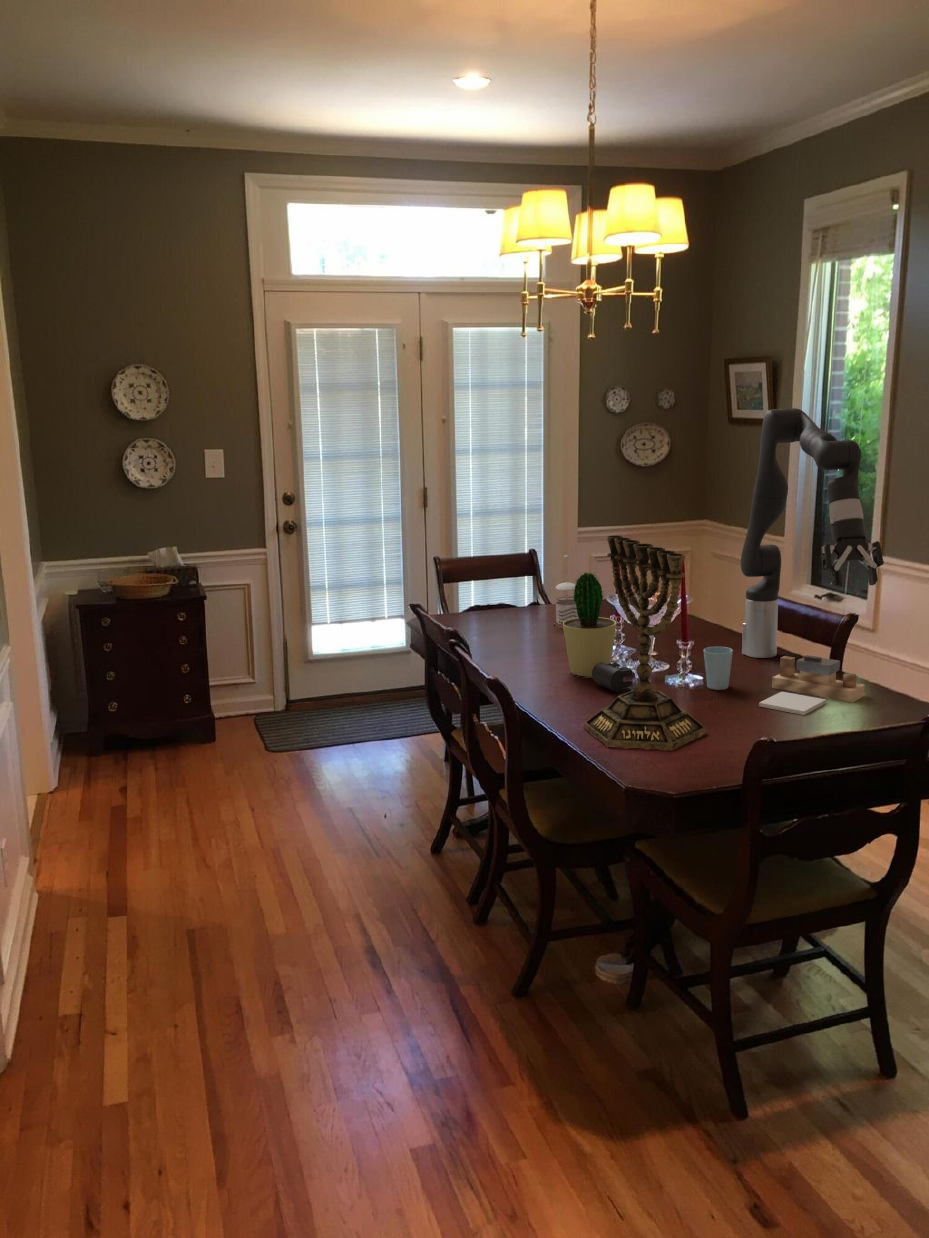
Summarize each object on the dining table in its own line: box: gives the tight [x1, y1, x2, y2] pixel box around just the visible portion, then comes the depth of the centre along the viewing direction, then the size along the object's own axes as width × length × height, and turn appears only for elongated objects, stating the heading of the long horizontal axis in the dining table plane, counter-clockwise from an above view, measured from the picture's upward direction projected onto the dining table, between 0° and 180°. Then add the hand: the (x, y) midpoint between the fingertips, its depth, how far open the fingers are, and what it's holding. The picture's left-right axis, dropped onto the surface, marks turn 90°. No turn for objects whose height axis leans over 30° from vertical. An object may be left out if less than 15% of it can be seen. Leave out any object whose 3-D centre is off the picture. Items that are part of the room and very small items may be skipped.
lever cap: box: [795, 654, 841, 675], centre depth 263 cm, size 9×6×3 cm, turn 46°
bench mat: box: [758, 691, 827, 716], centre depth 255 cm, size 12×12×1 cm
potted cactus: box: [563, 572, 617, 678], centre depth 289 cm, size 15×15×30 cm
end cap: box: [591, 662, 633, 694], centre depth 274 cm, size 10×7×7 cm
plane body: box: [771, 655, 866, 703], centre depth 264 cm, size 22×7×8 cm, turn 46°
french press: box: [554, 554, 579, 624], centre depth 349 cm, size 10×12×25 cm
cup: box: [703, 646, 734, 691], centre depth 271 cm, size 8×8×10 cm
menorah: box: [583, 534, 708, 751], centre depth 235 cm, size 36×25×45 cm
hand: (855, 586), depth 241 cm, fingers open, 8 cm apart
